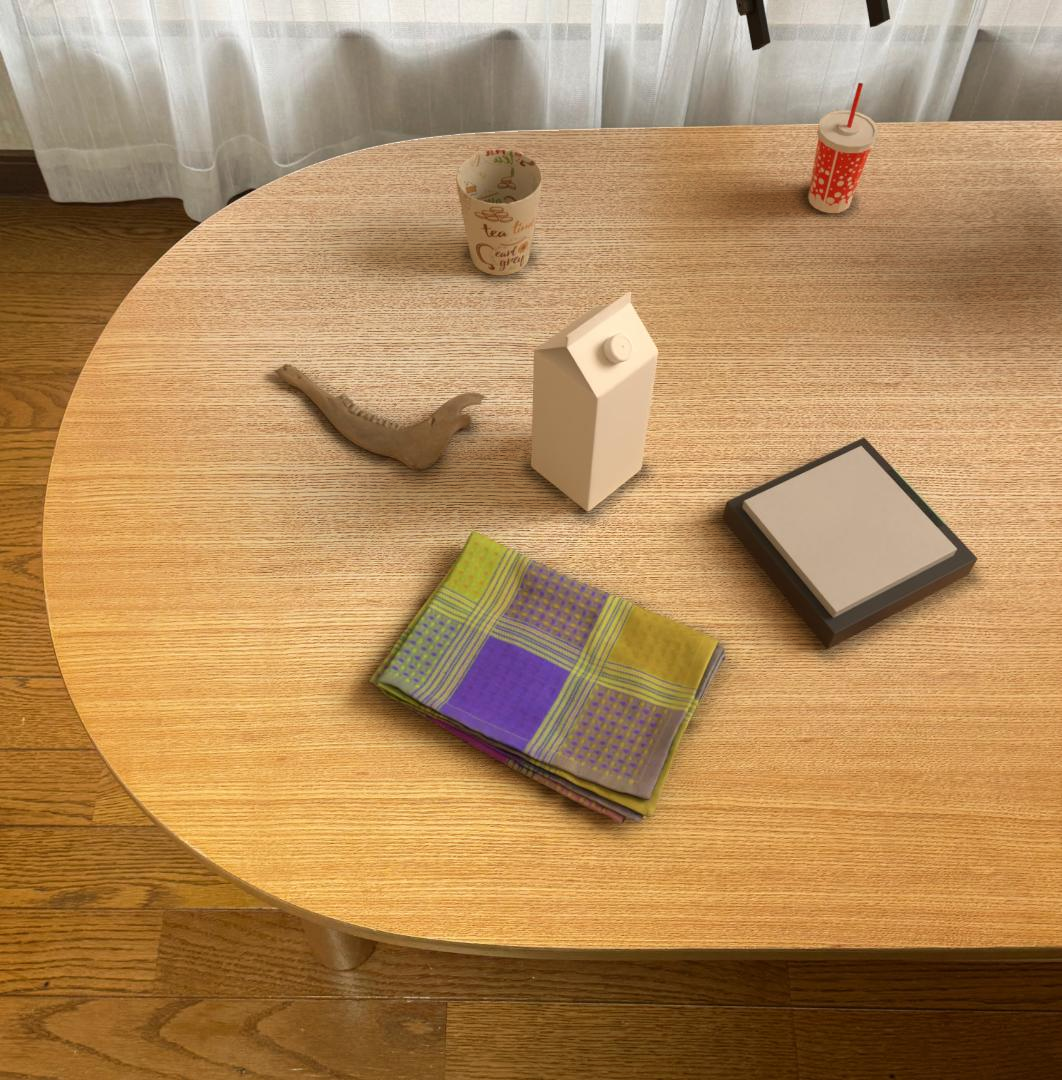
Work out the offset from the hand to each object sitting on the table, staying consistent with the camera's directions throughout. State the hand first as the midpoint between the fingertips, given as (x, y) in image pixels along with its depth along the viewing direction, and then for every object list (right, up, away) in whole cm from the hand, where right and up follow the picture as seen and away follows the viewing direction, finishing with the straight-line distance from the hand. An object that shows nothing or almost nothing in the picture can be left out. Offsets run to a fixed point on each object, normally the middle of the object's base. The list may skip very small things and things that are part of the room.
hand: (821, 35), depth 120 cm
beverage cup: (+3, -15, +7) cm, 17 cm away
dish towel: (-28, -63, -27) cm, 74 cm away
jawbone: (-44, -39, -10) cm, 59 cm away
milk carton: (-25, -45, -15) cm, 54 cm away
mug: (-32, -21, +3) cm, 39 cm away
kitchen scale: (-3, -52, -19) cm, 56 cm away
